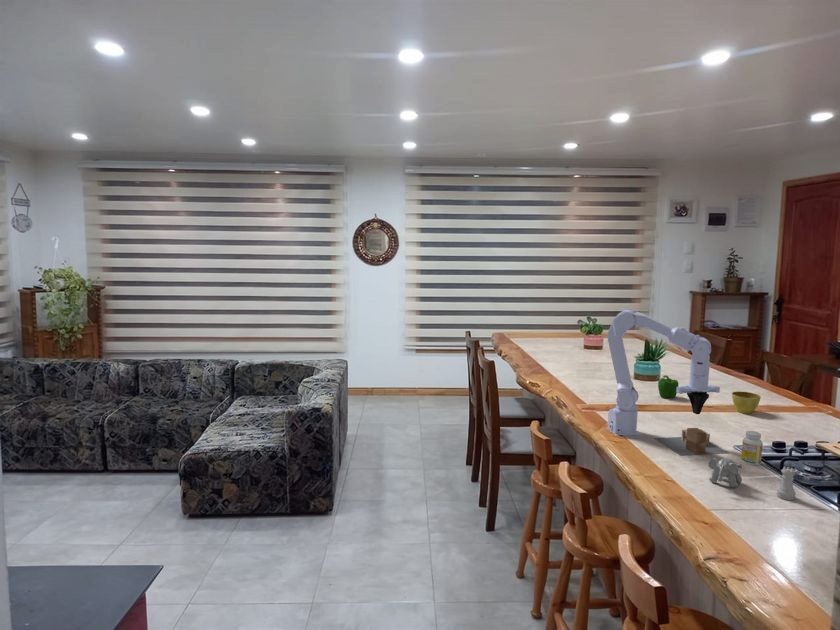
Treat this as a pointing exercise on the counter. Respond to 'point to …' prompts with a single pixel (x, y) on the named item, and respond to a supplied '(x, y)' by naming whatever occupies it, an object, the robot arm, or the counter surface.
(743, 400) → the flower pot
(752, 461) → the supplement bottle
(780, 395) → the counter surface
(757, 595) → the counter surface
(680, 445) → the mat
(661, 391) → the bell pepper
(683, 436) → the beech block
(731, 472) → the elephant statuette
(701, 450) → the walnut block
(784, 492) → the rook chess piece
